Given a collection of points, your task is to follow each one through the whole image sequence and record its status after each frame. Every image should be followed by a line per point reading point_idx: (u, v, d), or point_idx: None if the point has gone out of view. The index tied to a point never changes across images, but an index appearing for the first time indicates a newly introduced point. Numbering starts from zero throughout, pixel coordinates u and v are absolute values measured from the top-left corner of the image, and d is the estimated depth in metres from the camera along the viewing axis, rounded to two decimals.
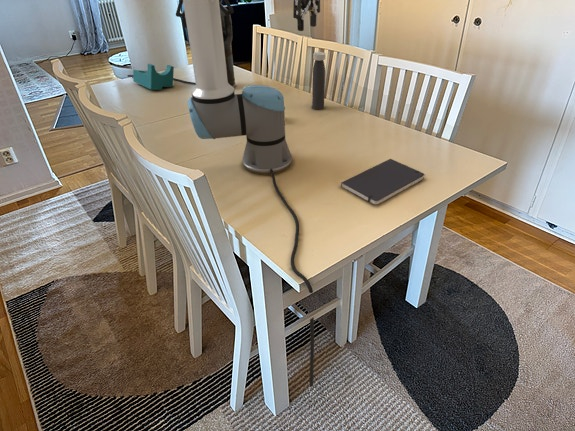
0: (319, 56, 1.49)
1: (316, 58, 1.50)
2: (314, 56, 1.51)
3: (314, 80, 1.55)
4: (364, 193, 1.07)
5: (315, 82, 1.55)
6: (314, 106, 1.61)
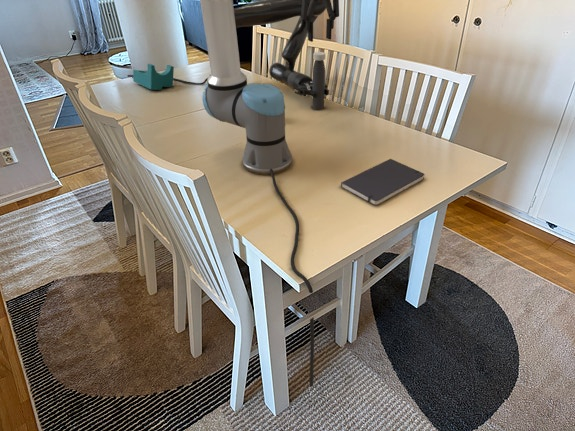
0: (319, 56, 1.49)
1: (316, 58, 1.50)
2: (314, 56, 1.51)
3: (314, 80, 1.55)
4: (364, 193, 1.07)
5: (315, 82, 1.55)
6: (314, 106, 1.61)
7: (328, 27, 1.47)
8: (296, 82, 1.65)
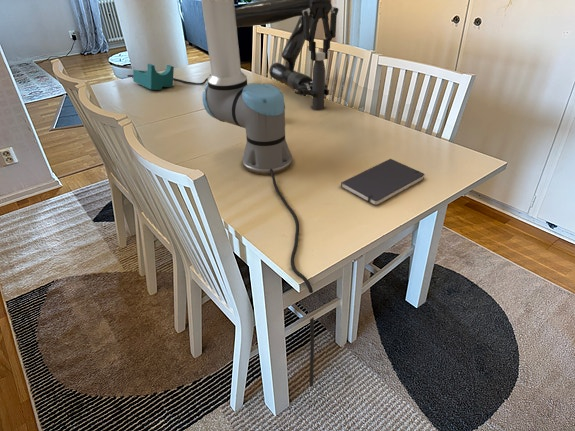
0: (319, 56, 1.49)
1: (316, 58, 1.50)
2: None
3: (314, 80, 1.55)
4: (364, 193, 1.07)
5: (315, 82, 1.55)
6: (314, 106, 1.61)
7: (324, 48, 1.51)
8: (296, 82, 1.65)
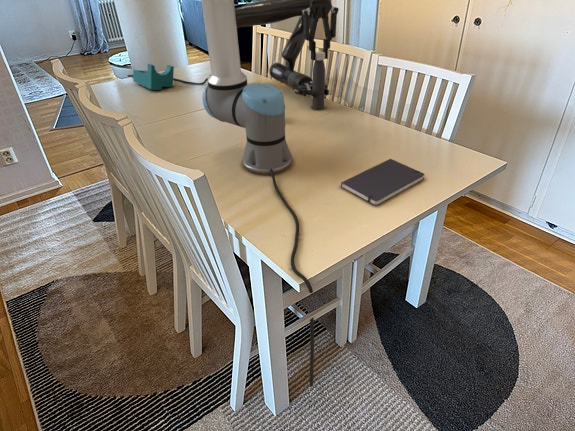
0: None
1: (324, 57, 1.51)
2: (322, 56, 1.50)
3: (314, 80, 1.55)
4: (364, 193, 1.07)
5: (315, 82, 1.55)
6: (314, 106, 1.61)
7: (324, 47, 1.51)
8: (296, 82, 1.65)
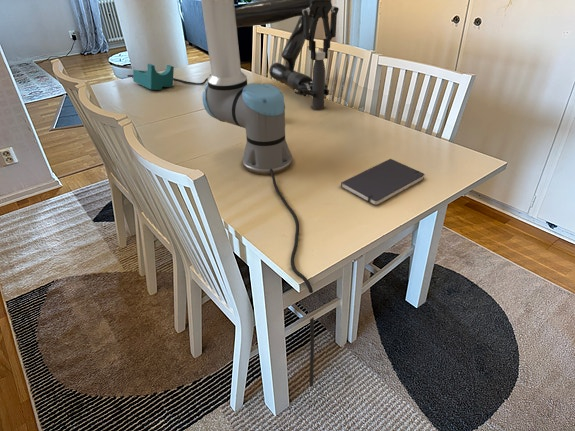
0: None
1: None
2: None
3: (314, 80, 1.55)
4: (364, 193, 1.07)
5: (315, 82, 1.55)
6: (314, 106, 1.61)
7: (324, 47, 1.50)
8: (296, 82, 1.65)
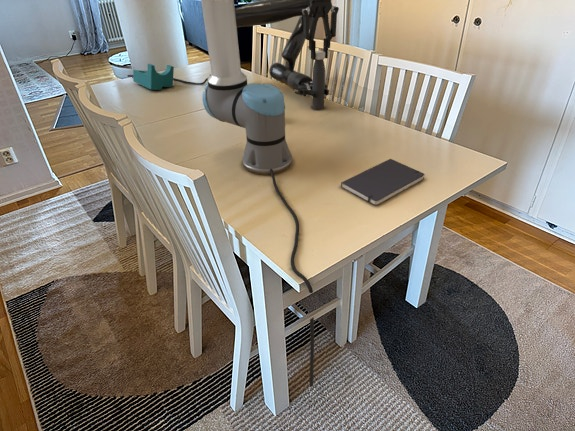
0: None
1: None
2: None
3: (314, 80, 1.55)
4: (364, 193, 1.07)
5: (315, 82, 1.55)
6: (314, 106, 1.61)
7: (324, 47, 1.50)
8: (296, 82, 1.65)
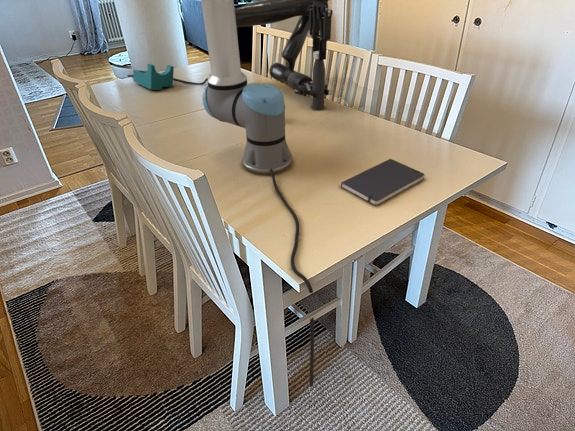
0: None
1: (318, 57, 1.50)
2: (315, 55, 1.50)
3: (314, 80, 1.55)
4: (364, 193, 1.07)
5: (315, 82, 1.55)
6: (314, 106, 1.61)
7: (316, 46, 1.51)
8: (296, 82, 1.65)
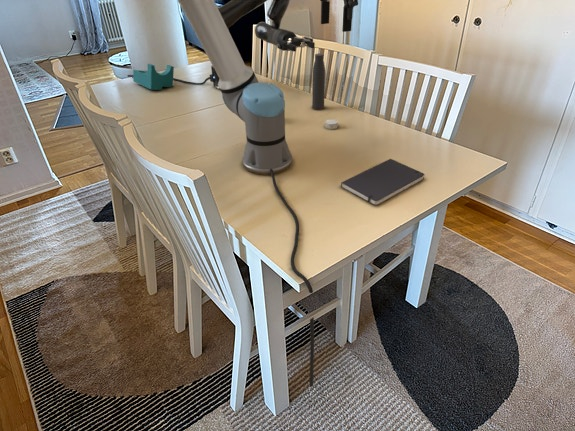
0: (334, 125, 1.45)
1: (330, 127, 1.45)
2: (328, 125, 1.46)
3: (314, 80, 1.55)
4: (364, 193, 1.07)
5: (315, 82, 1.55)
6: (314, 106, 1.61)
7: (325, 11, 1.30)
8: (280, 38, 1.66)
